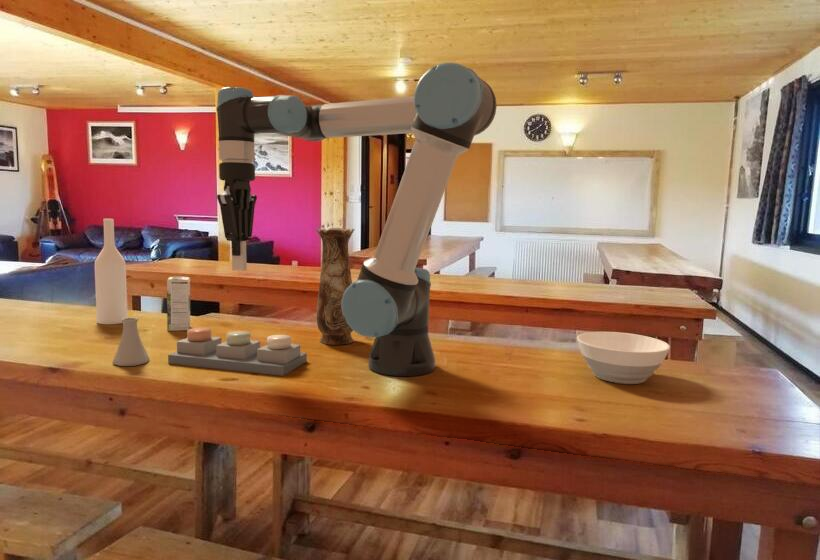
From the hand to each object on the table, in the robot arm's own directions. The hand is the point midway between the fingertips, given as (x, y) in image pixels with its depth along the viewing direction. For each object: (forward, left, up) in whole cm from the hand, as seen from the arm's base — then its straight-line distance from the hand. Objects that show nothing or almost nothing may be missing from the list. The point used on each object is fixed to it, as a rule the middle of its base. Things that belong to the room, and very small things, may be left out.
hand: (239, 270), depth 132 cm
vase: (-13, -27, -21) cm, 37 cm away
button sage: (0, 0, -19) cm, 19 cm away
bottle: (+56, -26, -21) cm, 66 cm away
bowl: (-84, -18, -22) cm, 88 cm away
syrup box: (+33, -25, -21) cm, 47 cm away
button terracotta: (+10, 0, -19) cm, 21 cm away
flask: (+22, +8, -22) cm, 32 cm away
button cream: (-10, 0, -19) cm, 21 cm away
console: (0, 0, -21) cm, 21 cm away
